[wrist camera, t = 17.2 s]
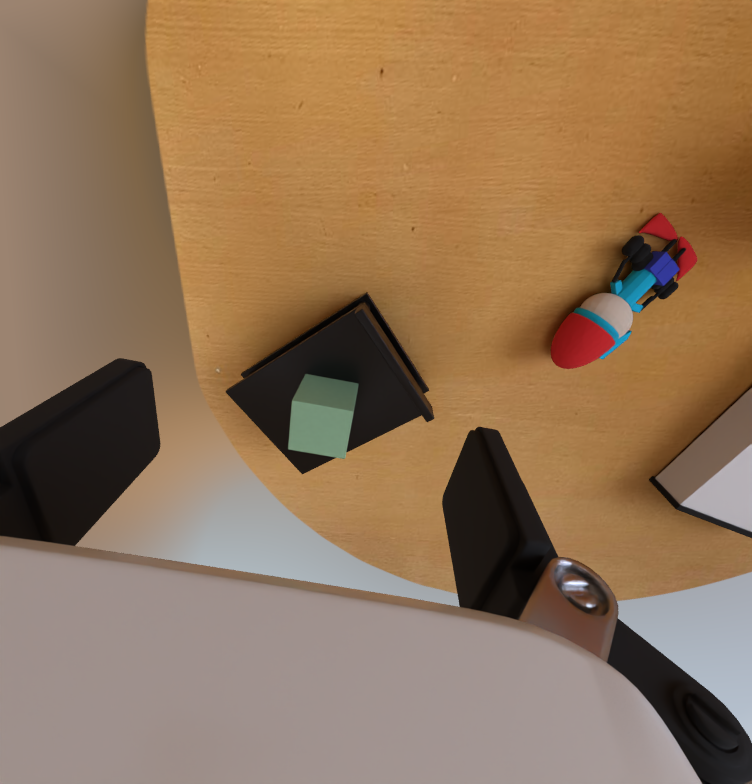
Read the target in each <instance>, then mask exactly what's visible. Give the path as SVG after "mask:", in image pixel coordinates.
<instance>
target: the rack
mask: <svg viewBox="0 0 752 784" xmlns="http://www.w3.org/2000/svg"><path fill="white" fill-rule="evenodd" d="M305 374H309V375H315V376H320V377H326V378H331V379H336V380H342V381H347V382H353V383H358V384H359V385H358V391H357V396H356V402H355V407H354V413H353V418H352V424H351V429H350V435H349V440H348V446H347V451H346V452H348V451H350V450H352V449H354V448H356V447H358V446H360V445H362V444H365V443H367V442H369V441H371V440H373V439H375V438H377V437H379V436H381V435H383V434H385V433H387V432H389V431H391V430H393V429H395V428H397V427H399V426H401V425H403V424H405V423H407V422H409V421H411V420H413V419H415V418H417V417H419V416H421V415H422V416H423V417H424V419H425V420H426V422H429V421H431V420H433V419H434V414H433V410H432V406H431V404H430V403H429V401H428V400H427V398H426V397H425V395H424V393H426V392H428V391H429V388H428V387H427V385H426V384H425V382H424V381H423V379H422V377H421V376H420V374H419V373H418V371H417V370H416V368H415V366H414V365H413V363H412V362H411V360H410V359H409V357H408V355H407V354H406V352H405V351H404V349H403V347H402V346H401V344H400V343H399V341H398V340H397V338H396V336H395V335H394V333H393V332H392V330H391V329H390V327H389V325H388V324H387V322H386V321H385V319H384V318H383V316H382V314H381V313H380V311H379V310H378V308H377V307H376V305H375V303H374V302H373V300H372V299H371V297H370V296H369V294H368V292H366V293H365V294H363V295H362V296H360V297H359V298H357V299H356V300H354V301H352V302H351V303H349V304H348V305H346V306H345V307H343V308H342V309H340V310H338V311H337V312H335V313H334V314H332V315H331V316H329V317H328V318H326V319H324V320H323V321H321V322H320V323H318V324H317V325H315V326H314V327H312V328H311V329H309V330H307V331H306V332H304V333H303V334H301V335H300V336H298V337H297V338H295V339H293V340H292V341H290V342H289V343H287V344H286V345H284V346H283V347H281V348H279V349H278V350H276V351H275V352H273V353H272V354H270V355H269V356H267V357H265V358H264V359H262V360H261V361H259V362H258V363H256V364H255V365H253V366H252V367H250V368H248V369H247V370H245V371H244V372H242V373H241V376H242V377H243V378H244V379H243V380H241V381H239V382H238V383H236V384H235V385H233V386H232V387H230V388H228V389H227V390H226V393H227V394H228V395H229V396H230V397H231V398H232V399H233V401H234V402H235V403H236V404H237V405H238V406H239V407H240V408H241V409H242V410H243V411H244V412H245V413H246V414H247V416H248V417H249V418H250V419H251V420H252V421H253V422H254V423H255V424H256V425H257V426H258V427H259V428H260V430H261V431H262V432H263V433H264V434H265V435H266V436H267V437H268V438H269V439H270V440H271V441H272V442H273V443H274V445H275V446H276V447H277V448H278V449H279V450H280V451H281V452H282V453H283V454H284V455H285V456H286V457H287V458H288V460H289V461H290V462H291V463H292V464H293V465H294V466H295V467H296V468H297V469H298V470H299V471H300V472H301V473H302V474H304V473H306V472H308V471H310V470H312V469H314V468H316V467H318V466H320V465H322V464H324V463H326V462H328V461H330V460H332V459H334V458H336V457H330V456H324V455H319V454H313V453H307V452H301V451H295V450H289V449H288V443H289V431H290V418H291V406H292V400H293V398H294V396H295V394H296V392H297V390H298V388H299V386H300V384H301V382H302V380H303V378H304V376H305Z"/></svg>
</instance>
